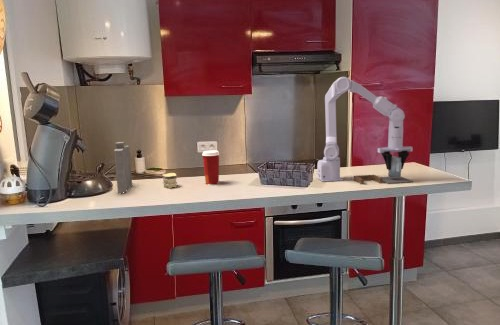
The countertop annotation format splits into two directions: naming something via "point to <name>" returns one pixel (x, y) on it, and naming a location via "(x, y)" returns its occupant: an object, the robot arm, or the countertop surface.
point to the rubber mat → (395, 180)
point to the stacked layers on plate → (169, 180)
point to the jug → (395, 167)
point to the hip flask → (122, 167)
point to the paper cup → (211, 166)
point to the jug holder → (367, 178)
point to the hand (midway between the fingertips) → (394, 169)
